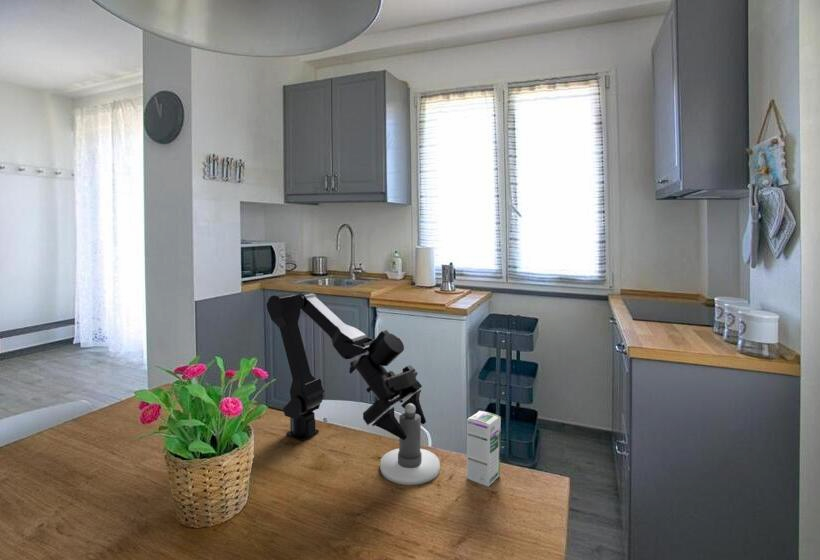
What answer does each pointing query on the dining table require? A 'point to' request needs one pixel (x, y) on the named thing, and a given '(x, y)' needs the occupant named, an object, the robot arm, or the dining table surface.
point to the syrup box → (483, 447)
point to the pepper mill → (410, 438)
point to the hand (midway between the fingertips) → (415, 430)
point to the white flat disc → (410, 475)
